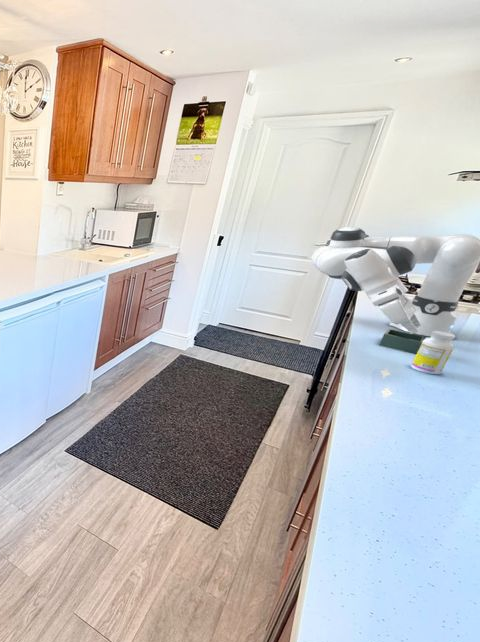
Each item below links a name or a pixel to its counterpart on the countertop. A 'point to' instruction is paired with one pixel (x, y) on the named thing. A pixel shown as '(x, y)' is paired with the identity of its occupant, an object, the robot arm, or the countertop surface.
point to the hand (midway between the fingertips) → (416, 329)
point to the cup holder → (402, 341)
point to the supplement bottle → (433, 353)
